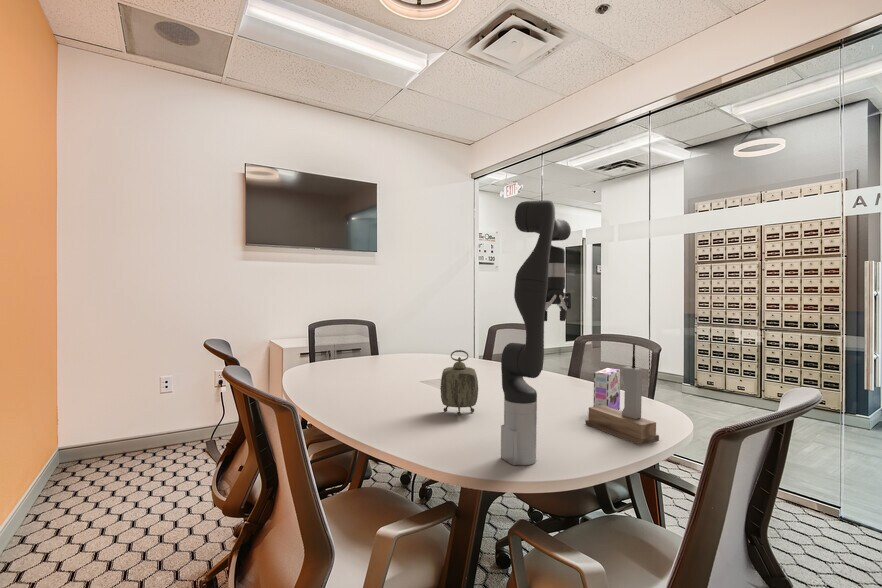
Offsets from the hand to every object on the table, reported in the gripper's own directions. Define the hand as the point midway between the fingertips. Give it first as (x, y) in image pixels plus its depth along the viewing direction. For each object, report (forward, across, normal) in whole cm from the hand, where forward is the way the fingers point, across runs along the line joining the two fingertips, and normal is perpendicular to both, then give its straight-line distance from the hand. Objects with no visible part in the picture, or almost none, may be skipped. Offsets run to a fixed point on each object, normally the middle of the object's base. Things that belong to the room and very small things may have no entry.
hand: (553, 321), depth 151 cm
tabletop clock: (+38, -24, +25) cm, 52 cm away
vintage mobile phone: (+32, +17, -20) cm, 41 cm away
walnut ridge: (+38, +16, -16) cm, 44 cm away
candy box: (+37, +32, +4) cm, 50 cm away
